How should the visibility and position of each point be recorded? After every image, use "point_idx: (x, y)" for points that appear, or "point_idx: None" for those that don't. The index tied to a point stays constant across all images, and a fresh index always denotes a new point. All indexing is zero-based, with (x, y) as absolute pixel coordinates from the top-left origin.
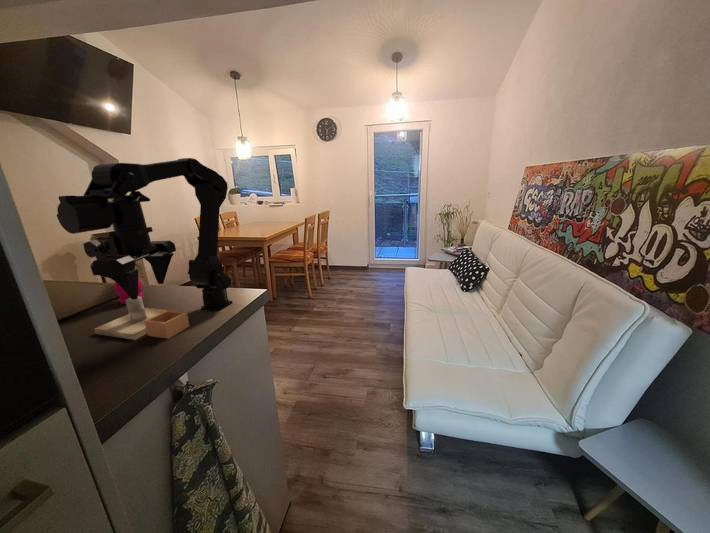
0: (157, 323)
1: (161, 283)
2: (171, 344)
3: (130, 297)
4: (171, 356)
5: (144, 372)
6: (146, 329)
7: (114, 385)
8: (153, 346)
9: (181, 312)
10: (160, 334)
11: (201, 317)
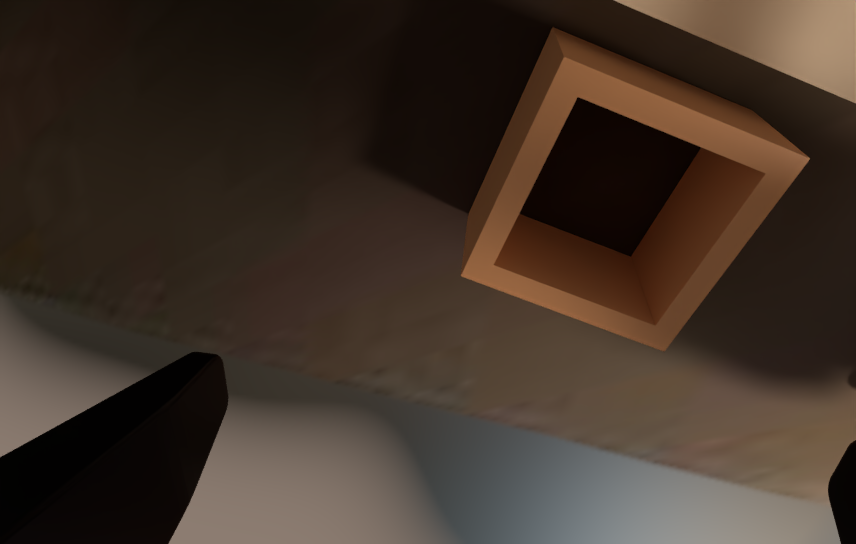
0: (491, 206)
1: (832, 483)
2: (388, 265)
3: (169, 370)
4: (261, 316)
5: (122, 255)
6: (554, 42)
7: (9, 172)
8: (373, 166)
9: (680, 312)
10: (492, 168)
11: (785, 307)
